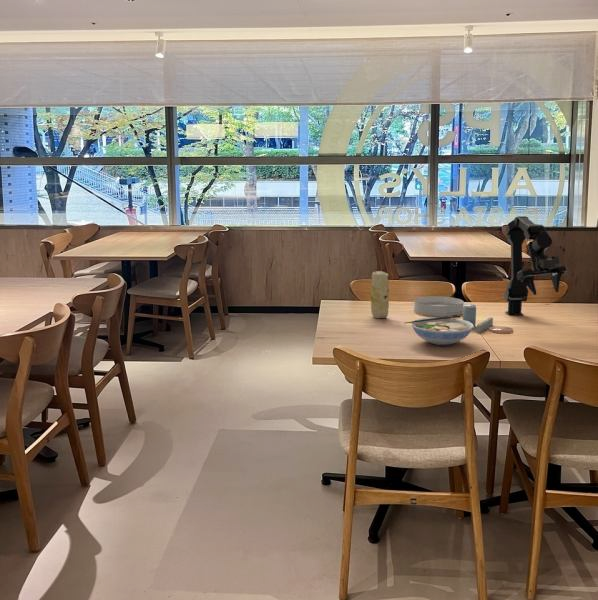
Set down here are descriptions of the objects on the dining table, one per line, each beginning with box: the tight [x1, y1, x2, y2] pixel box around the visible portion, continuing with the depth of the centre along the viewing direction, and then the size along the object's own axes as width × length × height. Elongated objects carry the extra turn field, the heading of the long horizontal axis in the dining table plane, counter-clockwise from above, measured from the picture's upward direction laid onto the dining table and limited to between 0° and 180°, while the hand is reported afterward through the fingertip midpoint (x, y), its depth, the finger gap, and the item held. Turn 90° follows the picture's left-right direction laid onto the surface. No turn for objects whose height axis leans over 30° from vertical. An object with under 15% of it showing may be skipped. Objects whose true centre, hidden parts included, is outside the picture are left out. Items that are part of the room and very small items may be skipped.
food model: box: [370, 270, 390, 319], centre depth 293 cm, size 10×7×20 cm
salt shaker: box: [462, 303, 477, 329], centre depth 275 cm, size 5×5×9 cm
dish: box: [413, 295, 465, 317], centre depth 305 cm, size 22×22×5 cm
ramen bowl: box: [404, 314, 474, 347], centre depth 250 cm, size 25×23×8 cm
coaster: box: [488, 325, 514, 334], centre depth 269 cm, size 9×9×1 cm
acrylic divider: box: [476, 317, 494, 334], centre depth 272 cm, size 16×1×3 cm, turn 146°
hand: (546, 293), depth 265 cm, fingers open, 9 cm apart
